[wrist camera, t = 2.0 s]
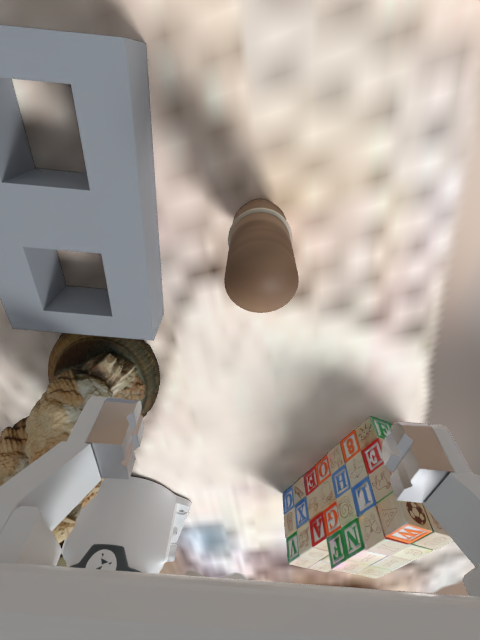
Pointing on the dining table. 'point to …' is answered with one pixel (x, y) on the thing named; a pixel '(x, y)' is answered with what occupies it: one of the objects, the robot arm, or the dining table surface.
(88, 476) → the robot arm
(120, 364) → the beige rough lumpy piece
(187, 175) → the dining table surface
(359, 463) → the stack of blocks
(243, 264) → the walnut peg
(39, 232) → the two-hole board
